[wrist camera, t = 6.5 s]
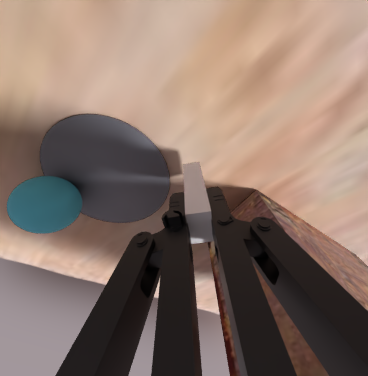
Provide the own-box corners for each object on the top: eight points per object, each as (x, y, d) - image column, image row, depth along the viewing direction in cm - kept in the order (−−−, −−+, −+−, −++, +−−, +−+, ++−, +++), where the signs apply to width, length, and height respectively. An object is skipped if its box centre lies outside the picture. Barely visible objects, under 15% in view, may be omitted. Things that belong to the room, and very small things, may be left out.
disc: (8, 127, 14) (6, 128, 14) (151, 101, 13) (151, 101, 13) (83, 227, 21) (82, 228, 21) (178, 214, 21) (178, 215, 20)
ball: (56, 160, 17) (-11, 186, 14) (69, 175, 14) (-17, 214, 11) (83, 198, 20) (33, 225, 18) (99, 219, 17) (40, 256, 14)
